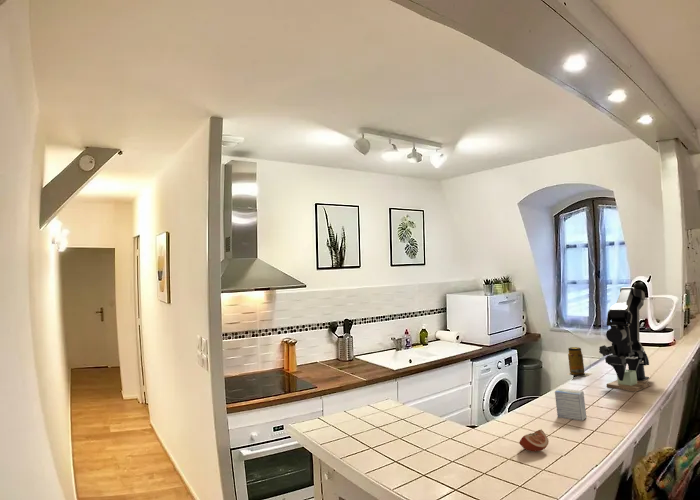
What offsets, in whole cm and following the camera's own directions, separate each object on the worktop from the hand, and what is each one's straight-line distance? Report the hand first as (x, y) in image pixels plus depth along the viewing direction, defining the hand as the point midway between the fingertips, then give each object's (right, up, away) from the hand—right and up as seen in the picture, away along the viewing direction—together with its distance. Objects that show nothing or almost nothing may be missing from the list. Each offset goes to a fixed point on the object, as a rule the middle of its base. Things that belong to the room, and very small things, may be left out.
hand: (626, 378), depth 175 cm
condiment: (-6, -6, +25) cm, 27 cm away
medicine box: (-38, -4, -31) cm, 49 cm away
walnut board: (0, -3, 0) cm, 3 cm away
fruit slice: (-61, -4, -55) cm, 82 cm away
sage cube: (0, -2, 0) cm, 2 cm away
